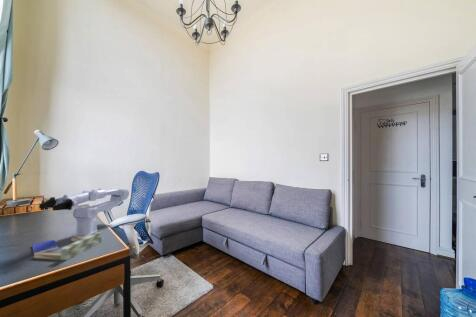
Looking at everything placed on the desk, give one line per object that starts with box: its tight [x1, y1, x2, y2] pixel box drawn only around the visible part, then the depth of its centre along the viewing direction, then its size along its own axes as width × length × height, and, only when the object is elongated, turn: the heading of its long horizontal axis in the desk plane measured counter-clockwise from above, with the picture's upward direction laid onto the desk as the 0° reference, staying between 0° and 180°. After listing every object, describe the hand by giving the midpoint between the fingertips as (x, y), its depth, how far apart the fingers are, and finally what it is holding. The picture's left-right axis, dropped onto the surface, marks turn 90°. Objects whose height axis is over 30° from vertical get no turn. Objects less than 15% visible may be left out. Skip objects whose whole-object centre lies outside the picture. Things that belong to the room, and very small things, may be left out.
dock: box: [33, 231, 102, 261], centre depth 95 cm, size 19×16×5 cm
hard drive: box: [32, 239, 59, 255], centre depth 96 cm, size 2×8×12 cm
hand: (46, 207), depth 93 cm, fingers open, 7 cm apart
